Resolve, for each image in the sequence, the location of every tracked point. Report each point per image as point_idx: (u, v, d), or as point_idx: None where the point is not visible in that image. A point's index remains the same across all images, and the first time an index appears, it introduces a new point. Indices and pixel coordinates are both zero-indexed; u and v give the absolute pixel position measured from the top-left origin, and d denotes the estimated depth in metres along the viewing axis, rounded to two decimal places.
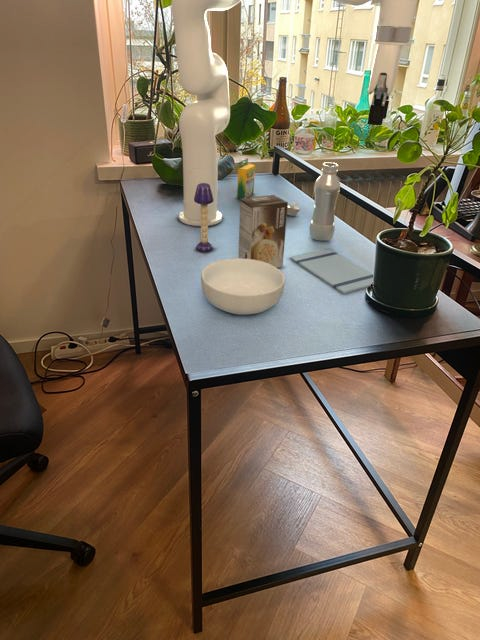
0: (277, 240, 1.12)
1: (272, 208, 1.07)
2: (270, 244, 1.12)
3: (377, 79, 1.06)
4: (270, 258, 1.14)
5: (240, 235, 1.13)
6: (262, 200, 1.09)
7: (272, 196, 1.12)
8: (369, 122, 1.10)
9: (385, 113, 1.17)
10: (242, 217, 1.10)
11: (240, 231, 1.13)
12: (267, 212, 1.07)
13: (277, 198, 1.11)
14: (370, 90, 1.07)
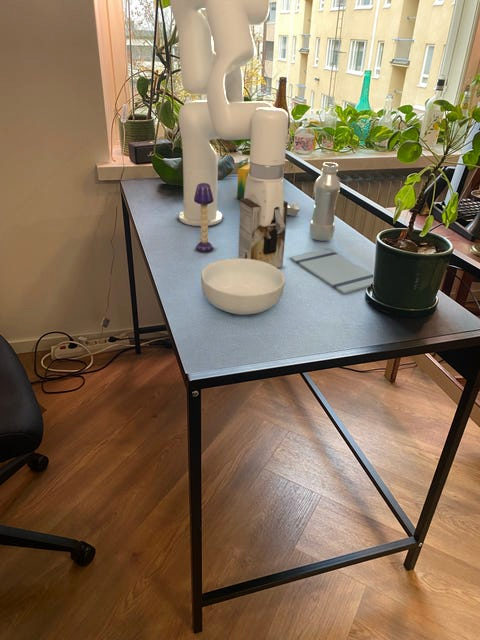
0: (277, 240, 1.12)
1: None
2: None
3: (272, 214, 1.06)
4: (270, 258, 1.14)
5: (240, 235, 1.13)
6: None
7: None
8: (266, 252, 1.11)
9: None
10: (242, 217, 1.10)
11: (240, 231, 1.13)
12: None
13: None
14: (267, 224, 1.07)
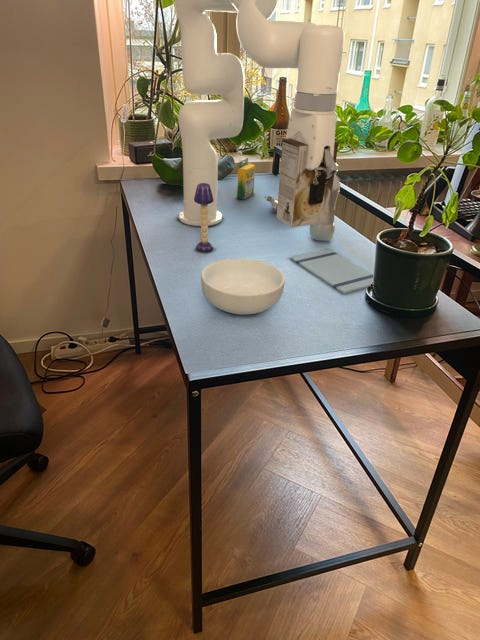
0: None
1: None
2: None
3: (322, 154, 0.90)
4: (316, 210, 0.99)
5: (281, 183, 0.98)
6: None
7: None
8: (311, 202, 0.96)
9: None
10: (284, 161, 0.95)
11: (281, 178, 0.98)
12: None
13: None
14: (315, 166, 0.91)
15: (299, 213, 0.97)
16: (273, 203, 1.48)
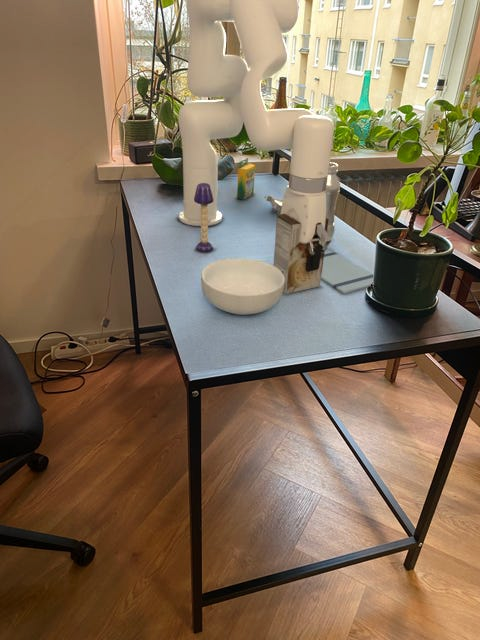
0: None
1: None
2: None
3: (314, 230, 0.98)
4: (308, 278, 1.06)
5: (276, 253, 1.06)
6: None
7: None
8: (308, 269, 1.02)
9: None
10: (279, 234, 1.03)
11: (276, 249, 1.05)
12: None
13: None
14: (307, 241, 0.99)
15: (293, 281, 1.05)
16: (273, 203, 1.48)
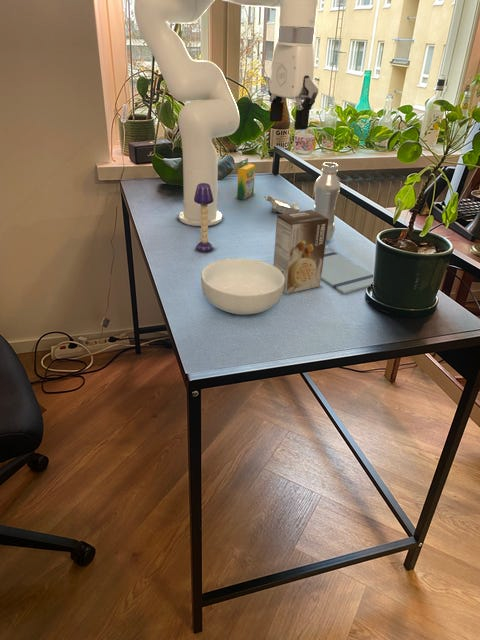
0: (316, 258, 1.05)
1: (312, 225, 1.00)
2: (308, 263, 1.04)
3: (302, 83, 1.01)
4: (308, 278, 1.06)
5: (276, 253, 1.06)
6: (301, 217, 1.01)
7: (311, 211, 1.04)
8: (297, 127, 1.06)
9: (281, 115, 1.13)
10: (279, 234, 1.03)
11: (276, 249, 1.05)
12: (307, 229, 1.00)
13: (316, 214, 1.03)
14: (296, 95, 1.02)
15: (293, 281, 1.05)
16: (273, 203, 1.48)
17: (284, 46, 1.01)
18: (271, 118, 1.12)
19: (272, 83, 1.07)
